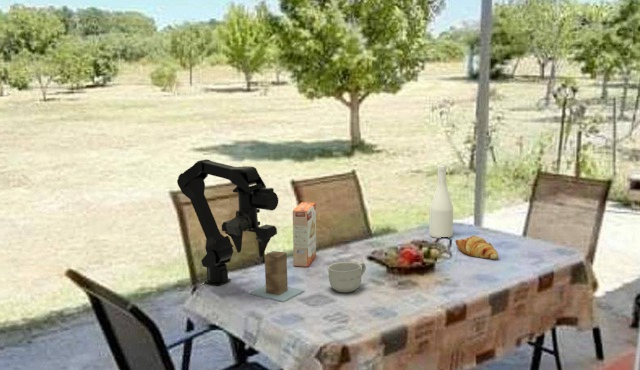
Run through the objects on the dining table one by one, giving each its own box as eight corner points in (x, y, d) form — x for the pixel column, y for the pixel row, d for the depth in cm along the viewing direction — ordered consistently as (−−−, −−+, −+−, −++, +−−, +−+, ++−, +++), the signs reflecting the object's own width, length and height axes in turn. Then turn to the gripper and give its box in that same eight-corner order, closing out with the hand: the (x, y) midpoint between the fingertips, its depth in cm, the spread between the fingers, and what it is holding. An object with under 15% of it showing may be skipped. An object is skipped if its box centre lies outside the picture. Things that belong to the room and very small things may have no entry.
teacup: (338, 297, 204) (338, 273, 202) (322, 287, 213) (321, 263, 212) (376, 289, 210) (376, 265, 209) (359, 279, 220) (358, 257, 218)
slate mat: (248, 293, 209) (248, 292, 209) (270, 283, 218) (270, 282, 217) (283, 302, 201) (283, 301, 201) (304, 291, 210) (304, 290, 210)
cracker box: (309, 267, 234) (308, 210, 230) (293, 266, 235) (291, 210, 231) (317, 256, 247) (316, 201, 243) (301, 255, 248) (300, 201, 244)
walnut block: (266, 292, 208) (264, 255, 206) (274, 287, 212) (273, 250, 210) (279, 295, 206) (277, 257, 203) (287, 290, 210) (286, 252, 208)
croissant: (502, 268, 239) (510, 248, 240) (486, 260, 234) (494, 239, 234) (460, 253, 257) (468, 234, 257) (444, 246, 251) (451, 226, 252)
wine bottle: (429, 238, 267) (430, 166, 262) (429, 232, 277) (430, 162, 271) (452, 239, 266) (454, 166, 260) (452, 233, 275) (453, 162, 269)
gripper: (208, 208, 205) (211, 256, 208) (254, 215, 195) (256, 265, 198) (232, 202, 214) (234, 248, 217) (277, 208, 204) (278, 256, 207)
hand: (250, 254), depth 210 cm, fingers open, 9 cm apart
